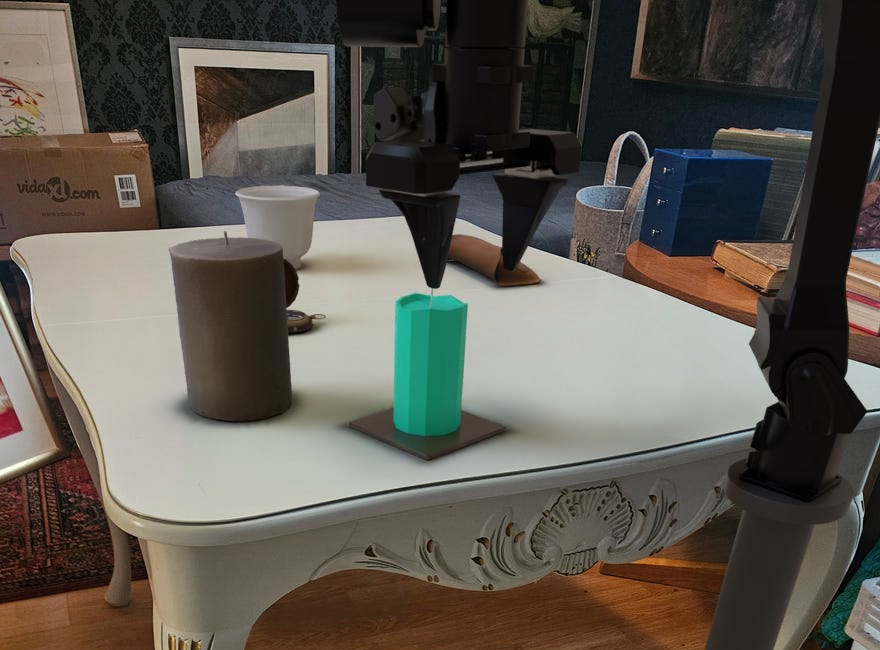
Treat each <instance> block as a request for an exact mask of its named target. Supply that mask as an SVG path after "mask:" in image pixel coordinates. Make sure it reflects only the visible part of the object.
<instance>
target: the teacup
mask: <svg viewBox="0 0 880 650" xmlns="http://www.w3.org/2000/svg"><path fill="white" fill-rule="evenodd" d="M234 194H235V196H236V197H237V198H238V200H239V202H240V206H241V210H242V214H243V218H244V225H245V230H246V236H247V238H257V239H264V240H269V241H274V242H276V243H278V244H280V245H281V246H282V248H283V258H284V259H286V260H287V261H288V262H290V263H291V264H292V265H293V267H294V268H295V270H297V269H299V268H301V267H302V263H301V258H302V257H303V256H305V255H306V254H308V253H309V251H310V249H311V247H312V241H313V234H314V233H313V232H314V223H315V222H314V219H315V210H316V204H317V200H318V198H319V197H320V195H321V193H320V191H318V190H317V189H314V188H310V187H304V186H297V185H296V186H295V185H294V186H293V185H284V184H283V185H281V184H280V185H257V186H248V187H243V188H240V189H237V190H236V191H235V193H234Z"/></svg>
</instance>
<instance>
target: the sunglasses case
mask: <svg viewBox="0 0 880 650" xmlns="http://www.w3.org/2000/svg"><path fill="white" fill-rule="evenodd" d="M449 261H455V262H459V263H460V264H463V266H464V265H465V266H466V267H469V268H472V269H473V270H475V271H476V272H478V273H481V274H482V275H485V276H486V277H488V278H490V279H491V280H494V281H495V283H496V284H497V286H499V287H521V286H528V285H533V284H537V283H540V282H541V281H542V279H541V278H540V277H539V275H538V274H537V273H536V271H534V270H533V269H532V268H530V267H529V266H528V265H526V264H524V263H523V262H522V261H520V262H519V264H518V266H517V268H516V270H515V271H506V270H504V269H503V259H502V246H500V245H496V244H493V243H491V242H488V241H487V240H485V239H482V238H479V237H476V236H472V235H467V234H461V233H460V234H458V233H457V234H456V233H455V234H452V239H451V244H450V249H449V254H448V258H447V262H449Z"/></svg>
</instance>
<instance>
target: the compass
mask: <svg viewBox="0 0 880 650" xmlns="http://www.w3.org/2000/svg"><path fill="white" fill-rule="evenodd" d="M283 260H284V275H285V292H286V310H287V325H288V334H295V333H296V334H297V333H301V332H305V331H308V330H309V329H310V328H312V326H313V320H323V319H326V318H327V316H326V315H325V314H323V313H313V314H310V315H308V314H306V312H305V311H302V310H299V309H288V308H289V307H291V306H292V305H293V303H294V302H295V301H296V299H297V297H298V295H299V292H300V283H299V280H300V278H299V275H298V271H297V269H295V268H294V267H293V265H292V264H291V263H290V262H288V261H287V260H286V259H284V258H283ZM317 316H320V317H317ZM321 316H322V317H321Z"/></svg>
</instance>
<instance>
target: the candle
mask: <svg viewBox="0 0 880 650" xmlns="http://www.w3.org/2000/svg"><path fill="white" fill-rule="evenodd" d="M394 304H395V305H394V357H393V359H394V360H393V361H394V365H393V371H394V372H393V408H394V417H393V422H394V424H395V426H396V428H397V429H399V430H401V431H404V432H406V433H408V434H414V435H421V436H437V435H445V434H448V433H451V432H454V431H456V430H457V428H458V427H459V426H460V422H461V410H462V404H463V402H462V401H463V390H464V389H463V388H464V373H465V356H466V339H467V326H468V325H467V324H468V308H469V303H468V302H463V301H461V300H460V299H458V298H457V297H455V296H453V295H452V294H445V295H434V289H433V288H430V295H428V294H425V293H424V294H423V293H419V292H413V293H410V294H406V295H402V296H401V297H400V298H398V299H397V300H395V303H394Z"/></svg>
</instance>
